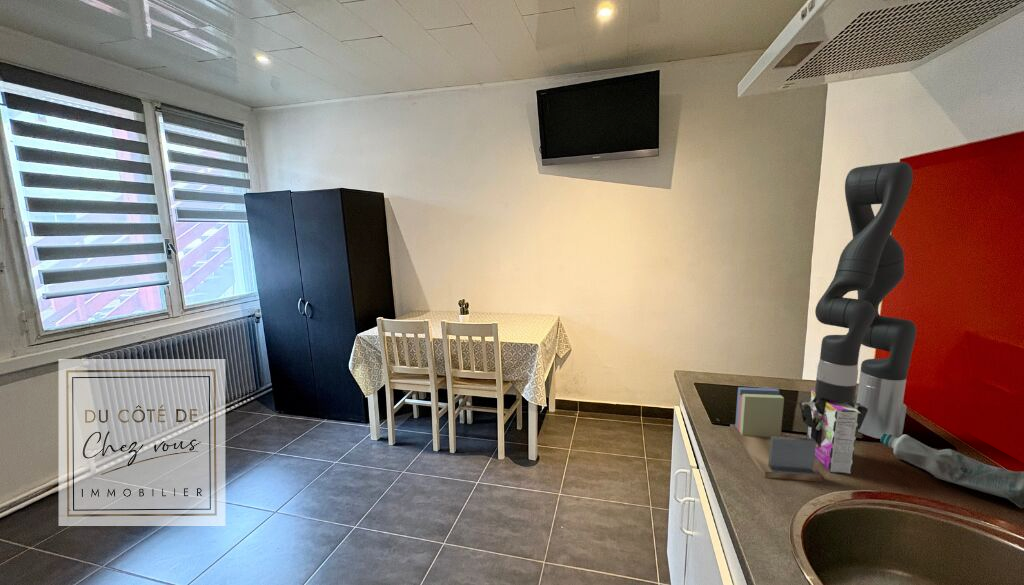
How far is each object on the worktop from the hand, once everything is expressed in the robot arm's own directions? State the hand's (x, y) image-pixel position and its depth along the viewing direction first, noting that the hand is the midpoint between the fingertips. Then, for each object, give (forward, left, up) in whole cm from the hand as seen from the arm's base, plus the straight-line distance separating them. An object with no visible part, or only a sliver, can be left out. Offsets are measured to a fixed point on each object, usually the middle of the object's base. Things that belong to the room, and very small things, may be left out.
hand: (828, 442), depth 97 cm
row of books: (+12, -10, -3) cm, 16 cm away
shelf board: (+12, -2, -5) cm, 13 cm away
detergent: (-24, +3, -5) cm, 25 cm away
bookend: (+12, +8, -3) cm, 15 cm away
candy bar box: (0, 0, -5) cm, 5 cm away
